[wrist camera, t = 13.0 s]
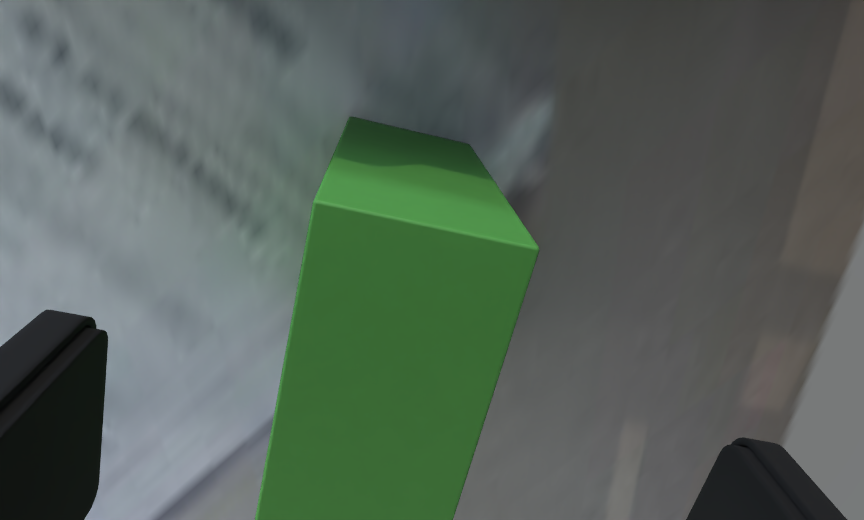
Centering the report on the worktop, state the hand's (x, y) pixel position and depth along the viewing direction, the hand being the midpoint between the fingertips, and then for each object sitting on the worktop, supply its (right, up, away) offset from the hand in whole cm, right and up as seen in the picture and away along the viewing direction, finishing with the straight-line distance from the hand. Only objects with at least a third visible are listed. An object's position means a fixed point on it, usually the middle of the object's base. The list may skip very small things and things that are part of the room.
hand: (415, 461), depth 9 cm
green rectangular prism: (-1, +4, +12) cm, 12 cm away
